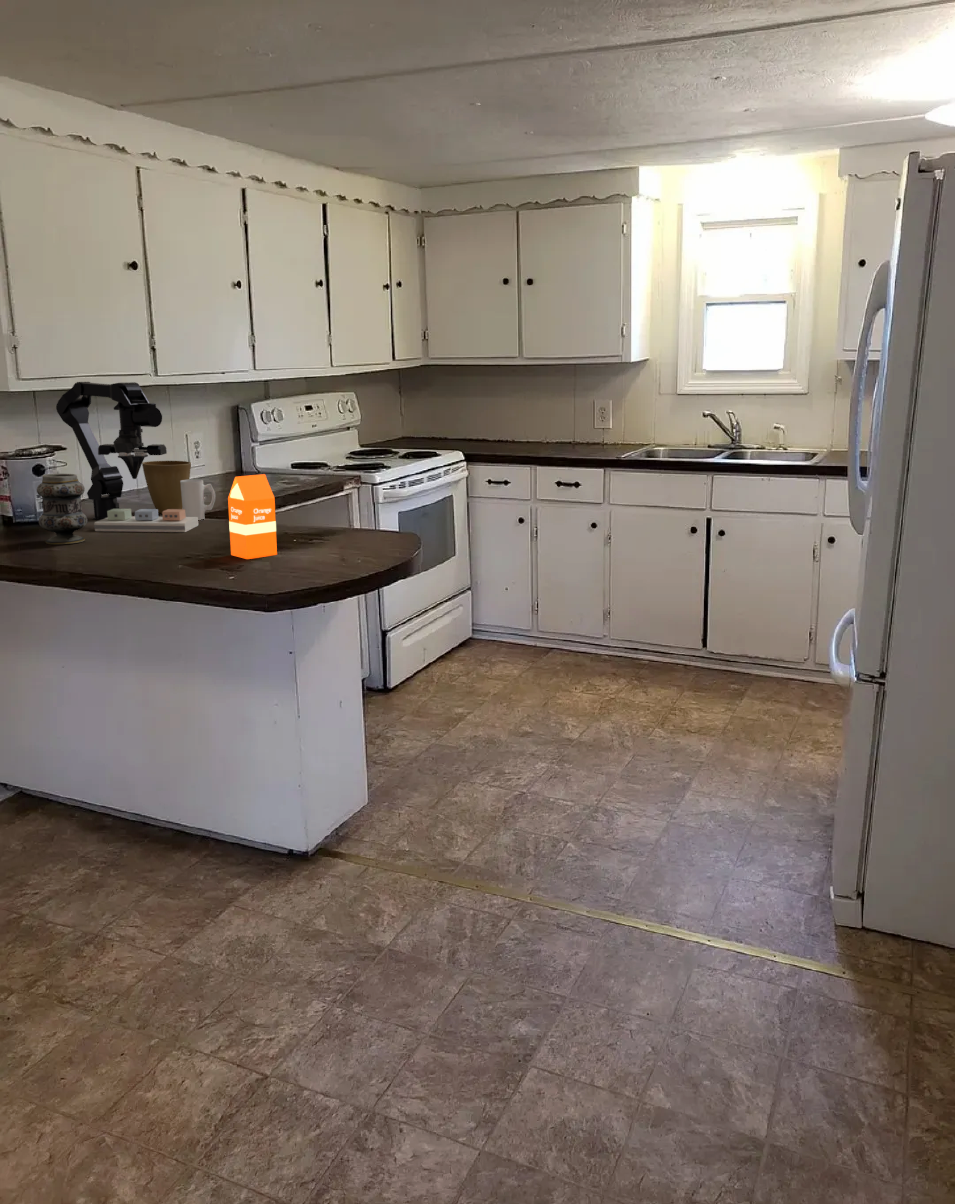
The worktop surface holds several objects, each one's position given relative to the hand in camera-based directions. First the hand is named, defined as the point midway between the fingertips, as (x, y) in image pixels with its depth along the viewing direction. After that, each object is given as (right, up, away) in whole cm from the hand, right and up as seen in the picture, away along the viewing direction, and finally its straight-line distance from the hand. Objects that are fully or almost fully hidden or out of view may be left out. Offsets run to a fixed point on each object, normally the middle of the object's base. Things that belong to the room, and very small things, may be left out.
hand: (134, 478), depth 293 cm
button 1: (-1, -13, -8) cm, 15 cm away
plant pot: (+4, -8, +23) cm, 24 cm away
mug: (+17, -12, +8) cm, 22 cm away
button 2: (+7, -13, -9) cm, 17 cm away
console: (+7, -15, -8) cm, 18 cm away
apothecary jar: (-8, -21, -30) cm, 37 cm away
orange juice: (+46, -25, -46) cm, 70 cm away
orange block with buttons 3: (+15, -13, -9) cm, 21 cm away
